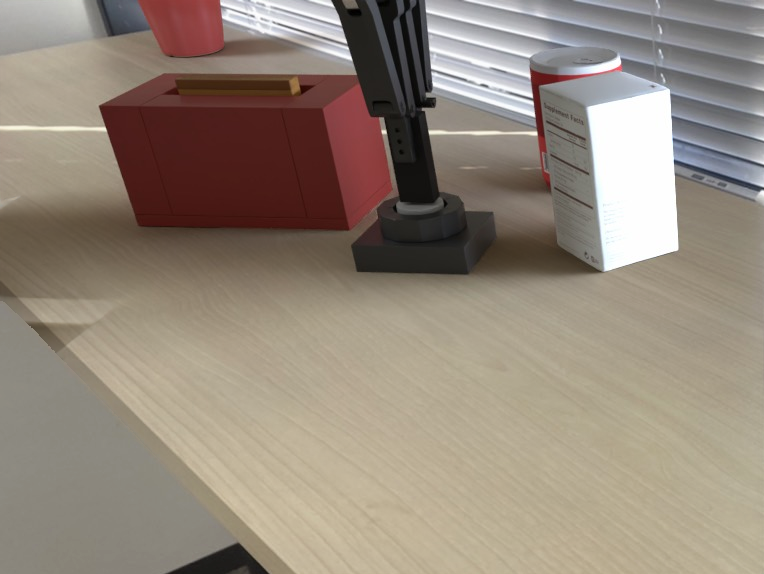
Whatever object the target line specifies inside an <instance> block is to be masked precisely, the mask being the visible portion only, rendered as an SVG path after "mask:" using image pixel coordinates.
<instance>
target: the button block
mask: <svg viewBox="0 0 764 574" xmlns="http://www.w3.org/2000/svg"><path fill="white" fill-rule="evenodd" d="M439 194H440V198H442V200H443V203H444V209H441V210H439V211H436V212H433V213H428V214H422V215H403V214H400V213H397V208H396V204H397V202H399V201H400V198H399V195H397V196H394V197H392V198H388V199H385V200H384V201H383V202H381V204H380V205H379V206H378V207H376V213H377V214H376V215H377V219H376V220H375V221H374V222H373V223H372V224H371V225H370V226H368V228H367V229H366V230H365V231H363V233H362V234H361V235H360V236H358V238H356V239H355V241H354V242H352V243H351V245H350V248H351V252H352V258H353V261H354V266H355V270H356V273H381V274H382V273H384V274H386V273H387V274H419V275H421V274H423V275H424V274H425V275H456V276H460V275H461V276H469V275H470V273H471V272H472V271H473V270H474V269H475V267H476V266H477V264H478V263H479V261H480V260H481V259H482V258H483V256H484V255H485V254H486V253H487V251H488V250H489V248H490V247H491V246H492V244H493V243H494V242H495V240H496V239H498V235H497V228H496V220H495V214H494V211H481V210H479V211H477V210H466V209H465V203H464V201H463V199H462V198H461V197H460V196H459V195H456V194H452V193H448V192H446V191H439Z"/></svg>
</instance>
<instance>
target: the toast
mask: <svg viewBox="0 0 764 574" xmlns="http://www.w3.org/2000/svg"><path fill="white" fill-rule="evenodd" d="M210 74H211V73H198V74H184V75H182V76H180V77H178V78H176V79H175V83H176V86H177V89H178V91H179V95H230V96H298V97H299V96H300V95H301V91H300V86H299V85H300V84H299V80H298V76H297V75H210Z"/></svg>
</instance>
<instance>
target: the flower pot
mask: <svg viewBox="0 0 764 574" xmlns="http://www.w3.org/2000/svg"><path fill="white" fill-rule="evenodd" d="M137 2H138V4H139V7H140V9H141V11H142V13H143V15H144V18H145V19H146V22H147V24H148V26H149V28H150V30H151V31H152V34H153V36H154V38H155V40H156V42H157V44H158V46H159V49H160V50H161V53H162V54H163V55H165V56H168V57H174V58H175V57H176V58H188V57H189V58H191V57H199V56H206V55H209V54H210V55H211V54H213V53H217V52H219V51H221V50H222V49H224V48H225V36H224V22H223V14H222V5H221V0H137Z"/></svg>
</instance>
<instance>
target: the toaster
mask: <svg viewBox="0 0 764 574" xmlns="http://www.w3.org/2000/svg"><path fill="white" fill-rule="evenodd" d="M184 74H199V72H198V73H195V72H194V73H192V72H191V73H189V72H188V73H186V72H185V73H184V72H183V73H182V72H181V73H180V72H177V73H176V72H164V73H162V74H159V75H157V76H156V77H153V78H151V79H150V80H147V81H146V82H143V83H142V84H139V85H138V86H135V87H134V88H132V89H129V90H126V92H122V93H121V94H119V95H117V96H115V97H113V98H111V99H109V100H107V101H105V102H103V103H101V104H99V105H98V109H99V111H100V115H101V118H102V121H103V124H104V126H105V127H104V128H105V130H106V133H107V136H108V139H109V142H110V144H111V148H112V151H113V154H114V157H115V160H116V163H117V166H118V169H119V172H120V176H121V179H122V181H123V184H124V187H125V190H126V193H127V197H128V199H129V203H130V206H131V208H132V212H133V214H134V219H135V220H136V224H137V226H139V227H176V228H177V227H178V228H179V227H181V228H182V227H183V228H224V229H226V228H228V229H229V228H230V229H270V230H272V229H273V230H275V229H276V230H312V231H313V230H315V231H316V230H317V231H318V230H319V231H351V230H352V229H353V228H354V227H355V226H356V225H357V224H358V223H359V222H361V220H362V219H364V217H366V216H367V215H368V214H369V213H370V212H371V211H372V210H373V209H374V208H375V207H376V206H377V205H378V204H379V203H380V202H382V200H383V199H384V198H386V197H387V196H388V195H389V194H390V193H391V192H392V191H393V190H394V187H393V183H392V179H391V172H390V167H389V162H388V157H387V152H386V147H385V141H384V135H383V132H382V127H381V121H380V117H371V116H370V115H369V112H368V109H367V106H366V103H365V100H364V96H363V93H362V90H361V87H360V83H359V80H358V77H357V74H310V73H309V74H305V73H304V74H302V73H301V74H298V73H294V74H293V73H292V74H290V73H286V74H285V73H284V74H283V73H209V74H210V75H297V76H298V80H299V84H300V85H299V86H300V91H301V95H300V96H299V97H298V96H230V95H179V91H178V89H177V86H176V83H175V79H176V78H178V77H180V76H182V75H184ZM372 208H373V209H372ZM371 209H372V210H371ZM370 210H371V211H370ZM369 211H370V212H369Z"/></svg>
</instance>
